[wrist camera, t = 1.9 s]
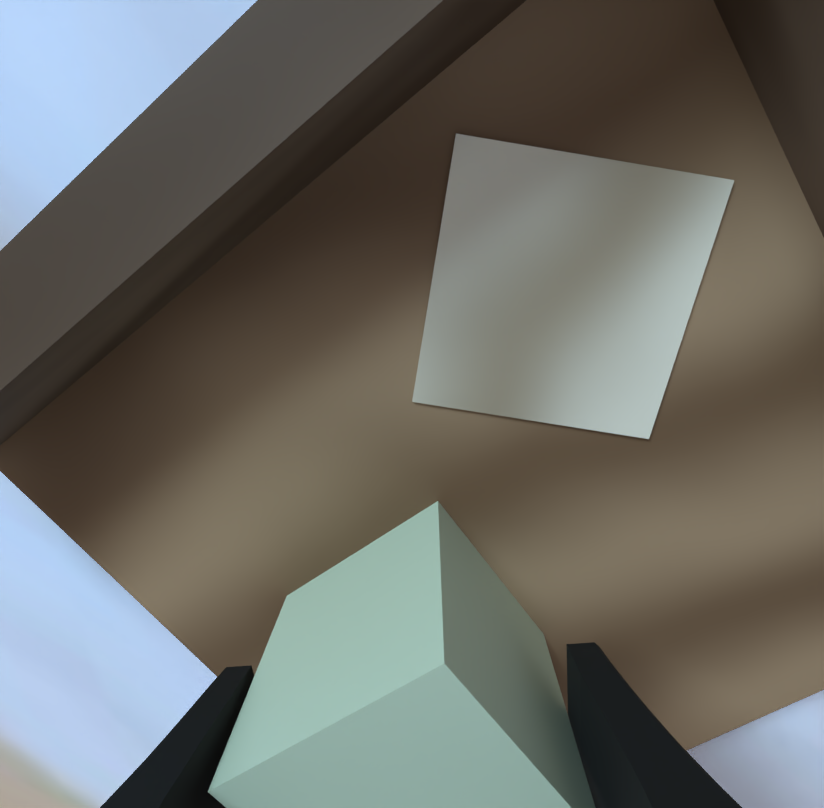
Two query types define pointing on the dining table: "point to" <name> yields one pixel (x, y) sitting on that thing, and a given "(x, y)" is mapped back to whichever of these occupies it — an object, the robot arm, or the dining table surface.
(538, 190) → the arena
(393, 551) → the sage cube
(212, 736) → the robot arm
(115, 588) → the dining table surface
